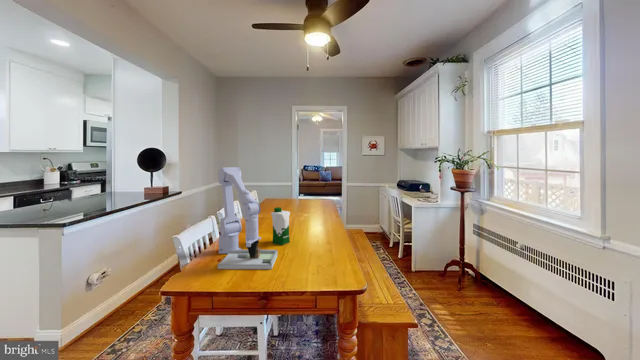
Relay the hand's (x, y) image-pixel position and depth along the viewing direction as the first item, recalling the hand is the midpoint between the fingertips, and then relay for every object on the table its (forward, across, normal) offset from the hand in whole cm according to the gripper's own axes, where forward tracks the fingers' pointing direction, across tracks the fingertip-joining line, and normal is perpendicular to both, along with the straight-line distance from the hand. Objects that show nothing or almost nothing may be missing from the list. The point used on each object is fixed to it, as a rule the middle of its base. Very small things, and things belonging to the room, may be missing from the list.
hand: (252, 256), depth 131 cm
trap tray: (+3, +1, +2) cm, 3 cm away
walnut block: (+1, +3, 0) cm, 4 cm away
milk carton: (+3, +29, -9) cm, 30 cm away
